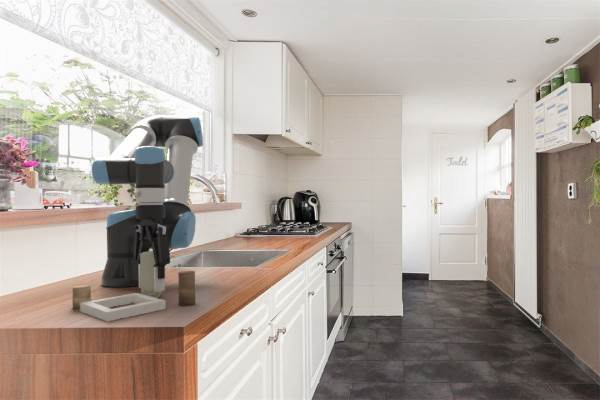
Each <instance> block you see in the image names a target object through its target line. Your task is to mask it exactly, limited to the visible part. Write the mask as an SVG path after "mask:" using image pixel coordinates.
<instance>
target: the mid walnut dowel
mask: <svg viewBox="0 0 600 400" xmlns="http://www.w3.org/2000/svg"><path fill="white" fill-rule="evenodd" d="M177 276H178V280H177V281H178V306H180V307H190V306H191V307H192V306H194V305H196V271H195V270H182V271H178V275H177Z"/></svg>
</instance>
